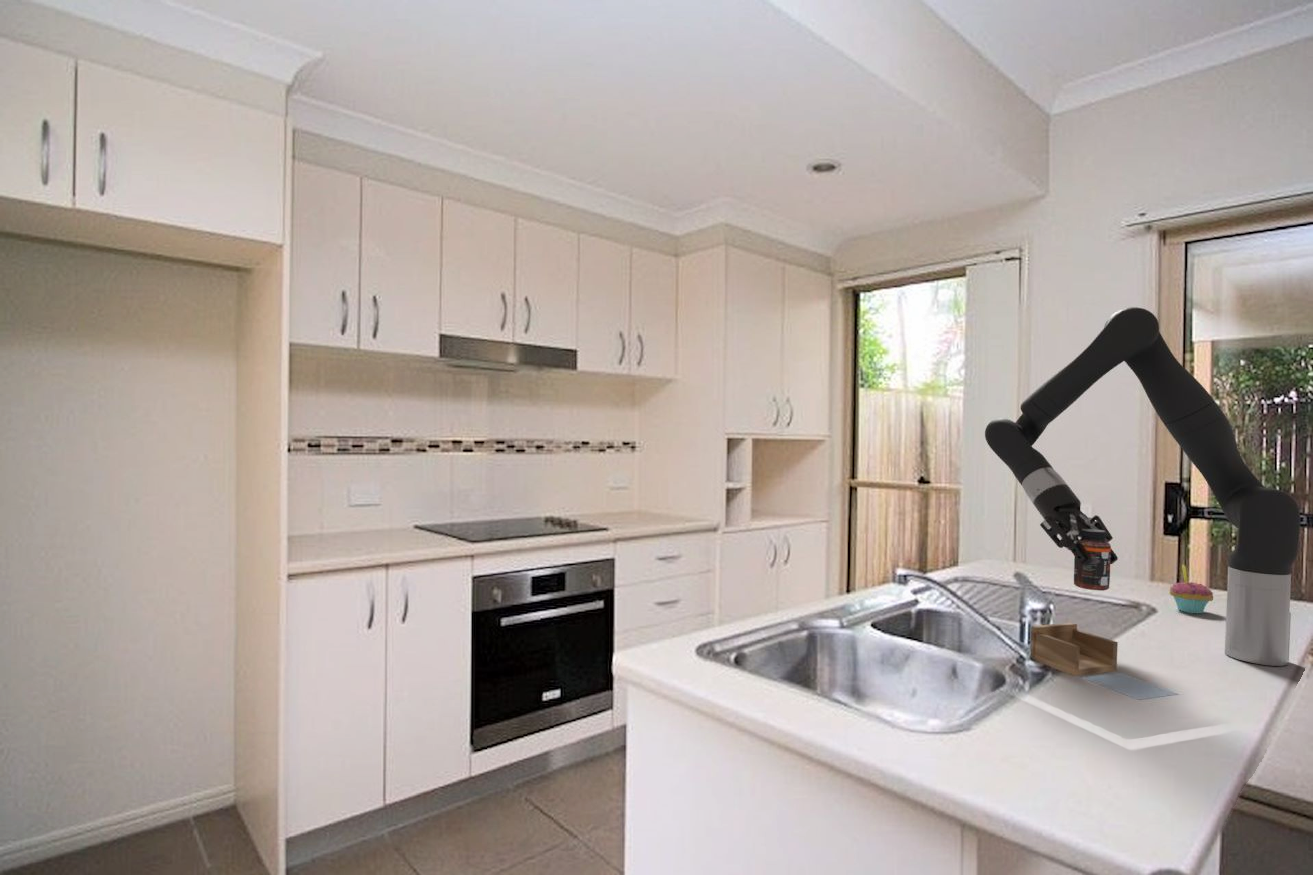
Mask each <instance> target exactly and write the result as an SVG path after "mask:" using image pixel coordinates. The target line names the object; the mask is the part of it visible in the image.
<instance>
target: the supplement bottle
mask: <svg viewBox="0 0 1313 875" xmlns="http://www.w3.org/2000/svg"><path fill="white" fill-rule="evenodd" d="M1105 535H1106V534H1105V531H1103V530H1097V529H1082V530H1081V536H1082V538H1078V539H1079V542H1080V543H1079V544H1082V545H1083V547H1084V548H1085V549H1086V551H1087V552H1088V554H1089V555H1090V556H1091V558H1092V562H1090V563H1089V564H1088V565H1086V566H1083V565H1081V563H1080V562H1079V561H1078V560H1077V559H1076V557H1075V556H1074V559H1073V560H1074V562H1073V585H1074V586H1076V587H1078V588H1080V589H1083V590H1092V591H1107V590H1109V589H1110V582H1111V580H1110V579H1111V564H1110V561H1111V560H1110V559H1111V549H1112V548H1111V547H1112V546H1111V544H1110V543H1109V542H1107V541H1106V539H1105V537H1106V536H1105Z"/></svg>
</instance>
